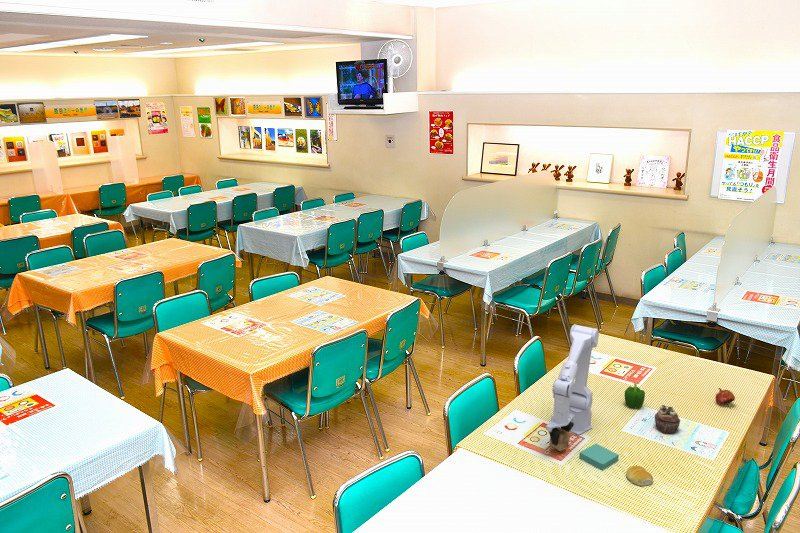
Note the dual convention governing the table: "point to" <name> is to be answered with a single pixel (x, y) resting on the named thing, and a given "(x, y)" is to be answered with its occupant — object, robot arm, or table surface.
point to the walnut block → (561, 440)
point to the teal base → (598, 456)
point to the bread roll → (639, 476)
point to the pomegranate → (724, 397)
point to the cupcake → (667, 420)
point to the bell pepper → (634, 397)
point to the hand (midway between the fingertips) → (559, 441)
